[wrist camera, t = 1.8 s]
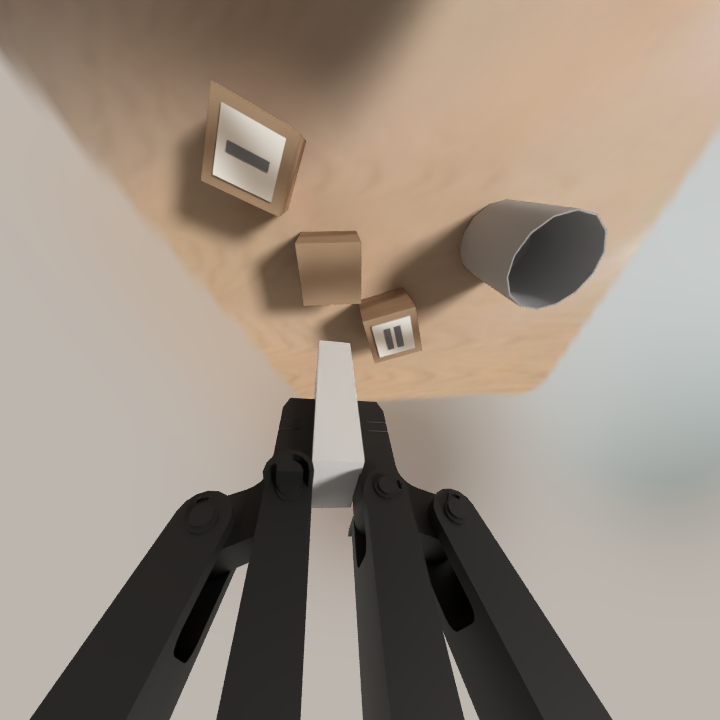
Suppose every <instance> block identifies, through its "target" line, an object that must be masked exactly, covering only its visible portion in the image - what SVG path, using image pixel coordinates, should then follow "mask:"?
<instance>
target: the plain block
mask: <svg viewBox="0 0 720 720" xmlns="http://www.w3.org/2000/svg"><path fill="white" fill-rule="evenodd" d="M295 247H296V255H297V262H298V269H299V276H300V283H301V291H302V298H303V305H304V306H313V305H338V304H361V241H360V238H359V236H358V234H357V232H356V231H326V232H301V233H300V235H299V237H298V239H297V241H296V243H295Z"/></svg>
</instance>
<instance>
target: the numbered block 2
mask: <svg viewBox="0 0 720 720" xmlns="http://www.w3.org/2000/svg"><path fill="white" fill-rule="evenodd" d="M359 308H360V313H361V317H362V322H363V325H364V328H365V332H366V335H367V339H368V342H369V345H370V349H371V352H372V355H373V359H374V362H375V363H378V362H382V361H385V360H389V359H393V358H396V357H400V356H404V355H407V354H411V353H414V352H418V351H422V346H421V339H420V333H419V326H418V319H417V312H416V306H415V305H414V303H413V302H412V300H411V299H410V297H409V296H408V294H407V293H406V291H405V290H404V288H400V289H397V290H393V291H390V292H386V293H383V294H380V295H376V296H373V297H369V298H366V299H363V300H361V304H359Z"/></svg>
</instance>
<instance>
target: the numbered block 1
mask: <svg viewBox="0 0 720 720" xmlns="http://www.w3.org/2000/svg"><path fill="white" fill-rule="evenodd" d="M305 143H306V140H305V139H304V137H303V136H302V134H301V133H300V132H299V131H298V130H296V129H294V128H293V127H291V126H289V125H288V124H286V123H284V122H282V121H281V120H279V119H277V118H276V117H274V116H272V115H271V114H269V113H267V112H265V111H264V110H262V109H260V108H259V107H257V106H255V105H253V104H252V103H250V102H248V101H247V100H245V99H243V98H242V97H240V96H238V95H236V94H235V93H233V92H231V91H230V90H228V89H226V88H225V87H223V86H221V85H219V84H218V83H216V82H214V81H213V80H211V85H210V95H209V105H208V115H207V125H206V134H205V144H204V154H203V164H202V174H201V181H203V182H205V183H207V184H209V185H211V186H214V187H216V188H218V189H220V190H222V191H224V192H226V193H229V194H231V195H233V196H235V197H237V198H239V199H241V200H243V201H246V202H248V203H250V204H252V205H254V206H256V207H258V208H261V209H263V210H265V211H267V212H269V213H271V214H273V215H276V216H278V217H279V216H280V215H282V214H283V213H284V212H286V211H287V210H288V207H289V203H290V200H291V196H292V192H293V188H294V185H295V181H296V177H297V173H298V170H299V166H300V162H301V158H302V155H303V151H304V147H305Z"/></svg>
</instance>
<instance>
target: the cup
mask: <svg viewBox="0 0 720 720" xmlns="http://www.w3.org/2000/svg"><path fill="white" fill-rule="evenodd" d="M606 236H607V229H606V227H605V225H604V224H603V222H602V220H601V218H600V217H599V215H598V214H596V213H593V212H589V211H586V210H582V209H579V208H571V207H563V206H555V205H548V204H540V203H532V202H524V201H516V200H508V199H506V200H502V201H499V202H495V203H492V204H489V205H488V206H486V207H485V208H484V209H483V210H482V211H480V212H479V213H478V214H477V215H475V216H474V217H473V219H472V220H471V222H470V224H469V225H468V227H467V229H466V230H465V232H464V233H463V238H462V243H461V248H460V253H461V258H462V262H463V265H464V266H465V267H466V268H467V269H468V270H469V271H470V272H471V273H472V274H473V275H474V276H476V277H477V278H479V279H480V280H482V281H483V282H485V283H486V284H488V285H489V286H491V287H492V288H494V289H495V290H496V291H498V292H499V293H501V294H502V295H504V296H505V297H507V298H508V299H510V300H511V301H513V302H514V303H516V304H517V305H518V306H520V307H525V308H531V309H536V310H537V309H540V308H544V307H548V306H552V305H556V304H558V303H559V302H561V301H563V300H564V299H566V298H567V297H569V296H571V295H572V294H574V293H575V292H577V291H578V290H579V288H580V287H581V286H582V285H583V284H584V283H585V282H586V281H587V280H588V279H589V278H590V277H591V276H592V275H593V274H594V272H595V270H596V268H597V266H598V264H599V262H600V260H601V258H602V256H603V254H604V252H605V246H606Z"/></svg>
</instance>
